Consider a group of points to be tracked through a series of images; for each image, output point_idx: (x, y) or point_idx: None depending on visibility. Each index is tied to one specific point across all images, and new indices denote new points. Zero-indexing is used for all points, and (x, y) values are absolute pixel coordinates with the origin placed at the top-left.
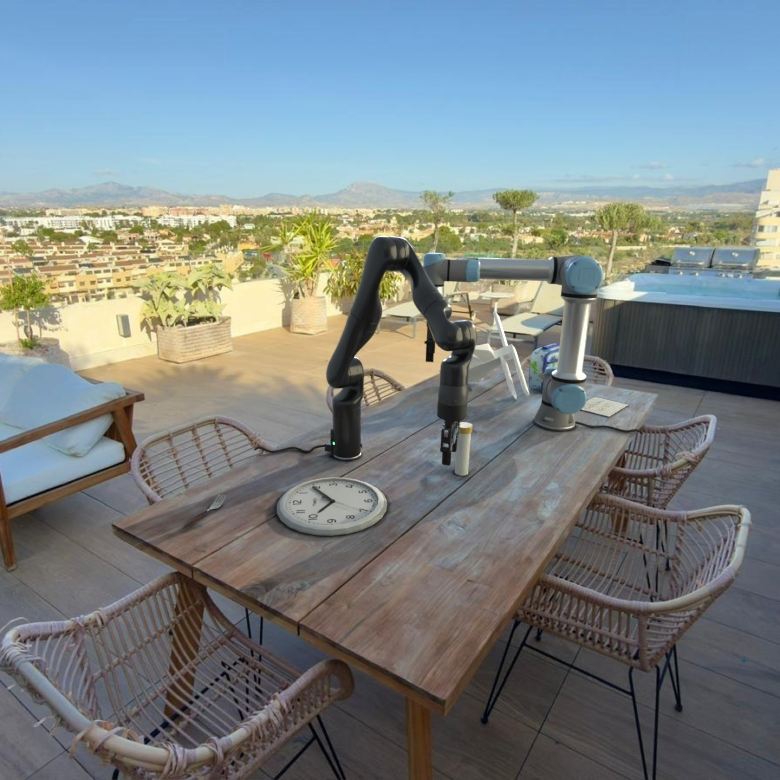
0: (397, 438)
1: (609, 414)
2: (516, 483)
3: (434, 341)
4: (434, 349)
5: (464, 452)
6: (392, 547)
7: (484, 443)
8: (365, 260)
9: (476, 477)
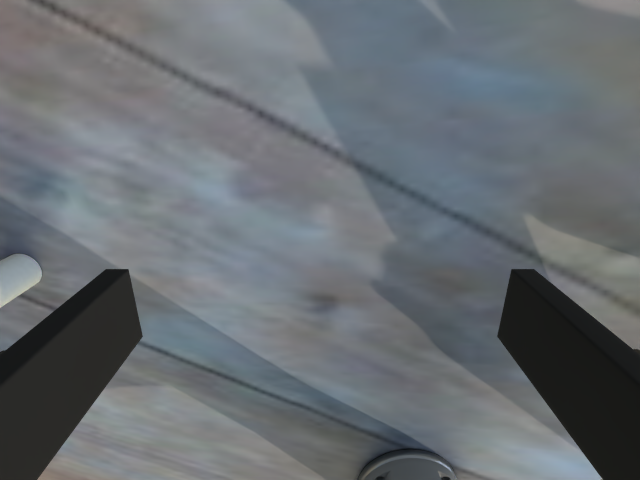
0: (208, 56)
1: None
2: None
3: (580, 438)
4: (517, 360)
5: None
6: None
7: (238, 329)
8: None
9: (14, 303)
